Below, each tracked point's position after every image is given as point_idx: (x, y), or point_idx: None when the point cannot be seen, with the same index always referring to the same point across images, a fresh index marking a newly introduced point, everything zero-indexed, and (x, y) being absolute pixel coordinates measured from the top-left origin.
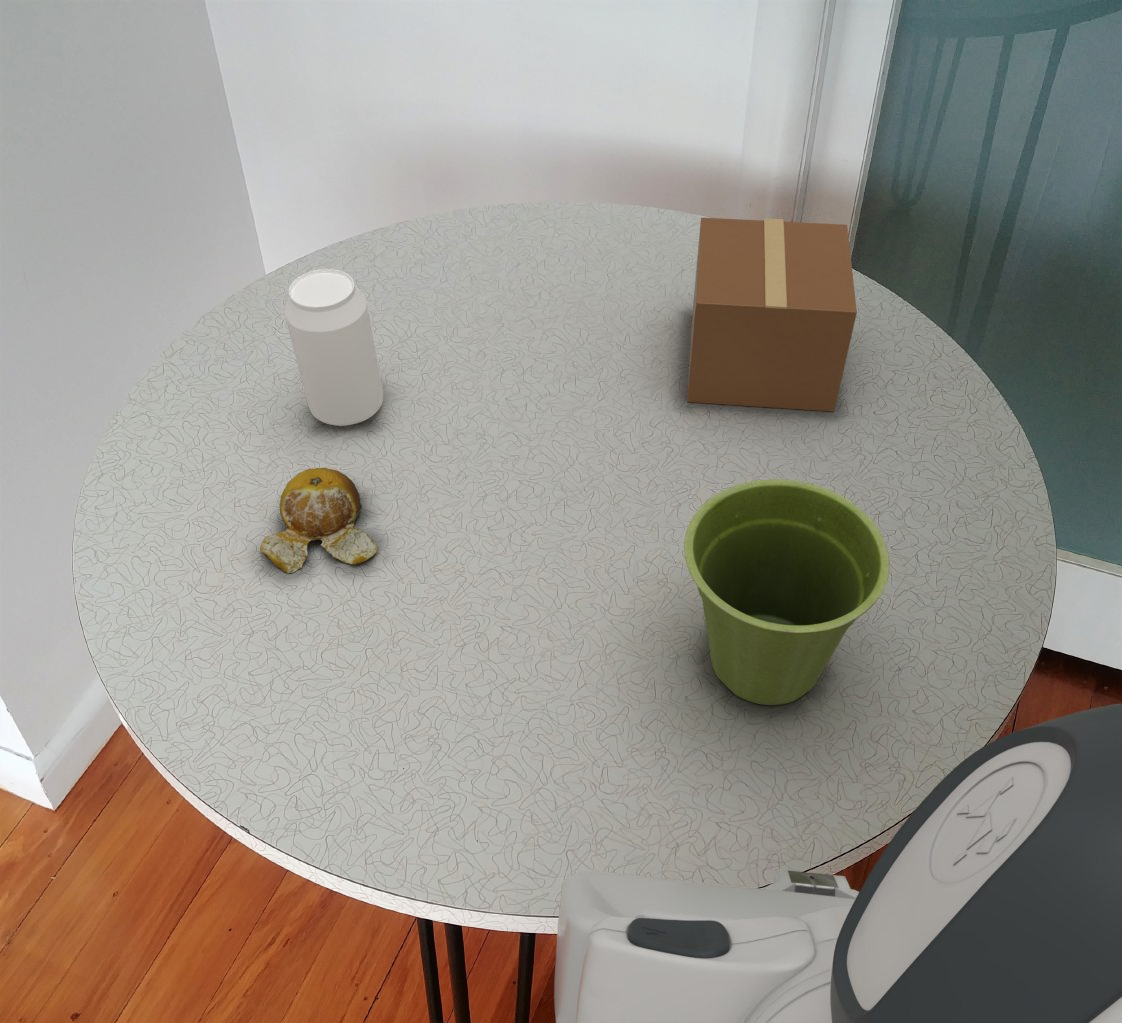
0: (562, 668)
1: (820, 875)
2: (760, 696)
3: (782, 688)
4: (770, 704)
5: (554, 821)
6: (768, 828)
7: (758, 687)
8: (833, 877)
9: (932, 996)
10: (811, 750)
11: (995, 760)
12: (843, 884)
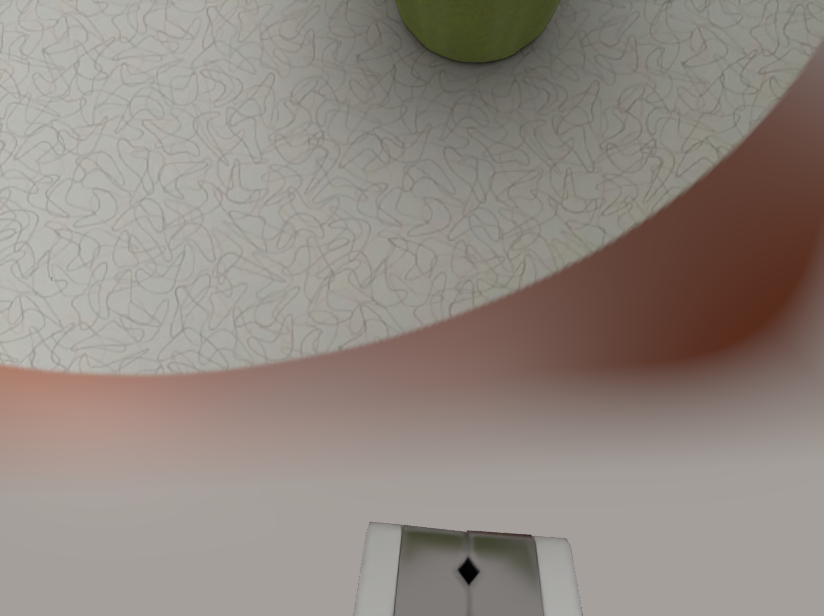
0: (182, 20)
1: (496, 550)
2: (461, 48)
3: (493, 32)
4: (477, 61)
5: (161, 246)
6: (462, 244)
7: (456, 33)
8: (535, 561)
9: None
10: (532, 128)
11: None
12: (564, 610)
